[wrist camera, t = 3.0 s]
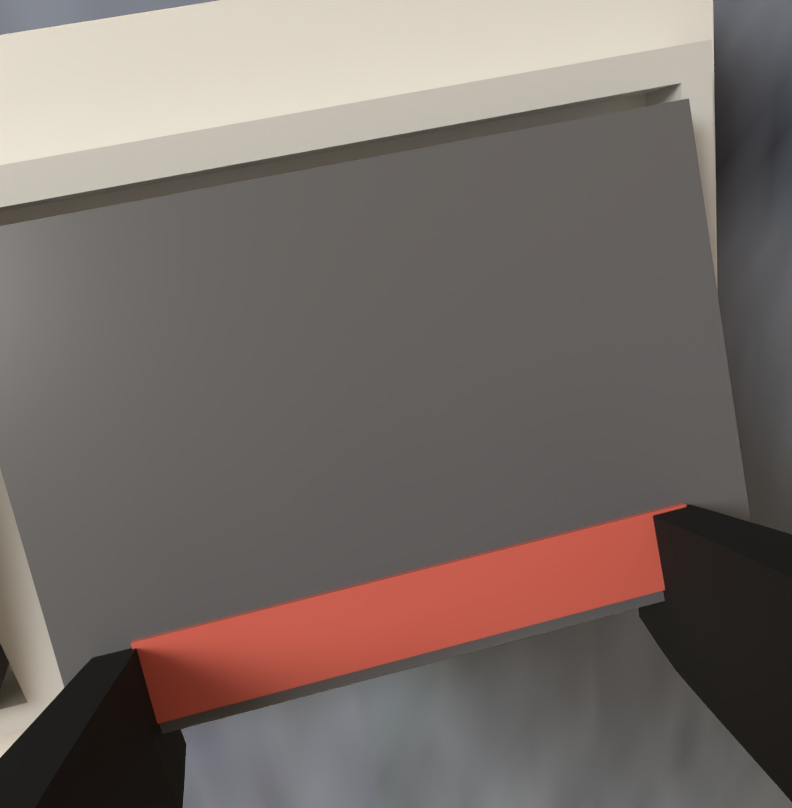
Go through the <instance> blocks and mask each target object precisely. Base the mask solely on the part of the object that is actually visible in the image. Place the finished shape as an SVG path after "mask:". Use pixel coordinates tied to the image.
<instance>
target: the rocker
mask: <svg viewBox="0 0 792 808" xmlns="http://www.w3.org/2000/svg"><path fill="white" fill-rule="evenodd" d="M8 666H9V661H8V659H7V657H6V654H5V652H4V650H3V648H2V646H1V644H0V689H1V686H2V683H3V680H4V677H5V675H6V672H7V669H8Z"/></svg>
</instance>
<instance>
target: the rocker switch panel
mask: <svg viewBox="0 0 792 808" xmlns="http://www.w3.org/2000/svg"><path fill="white" fill-rule="evenodd" d="M688 98H689V102H690V109H691V116H692V123H693V129H694V136H695V143H696V150H697V157H698V163H699V170H700V177H701V184H702V191H703V198H704V204H705V211H706V218H707V225H708V232H709V238H710V245H711V252H712V259H713V266H714V272H715V279H716V286H717V227H716V163H715V99H714V35H713V0H220V1H213V2H207V3H201V4H194V5H188V6H182V7H175V8H169V9H163V10H156V11H150V12H144V13H137V14H131V15H125V16H118V17H112V18H106V19H99V20H93V21H87V22H80V23H74V24H67V25H61V26H55V27H48V28H42V29H36V30H29V31H23V32H17V33H10V34H4V35H0V226H3V225H9V224H14V223H20V222H25V221H30V220H36V219H41V218H47V217H52V216H57V215H63V214H68V213H73V212H79V211H84V210H90V209H95V208H100V207H106V206H111V205H117V204H122V203H127V202H133V201H138V200H144V199H149V198H154V197H160V196H165V195H171V194H176V193H181V192H187V191H192V190H197V189H203V188H208V187H214V186H219V185H224V184H230V183H235V182H241V181H246V180H251V179H257V178H262V177H268V176H273V175H278V174H284V173H289V172H295V171H300V170H305V169H311V168H316V167H322V166H327V165H332V164H338V163H343V162H348V161H354V160H359V159H365V158H370V157H375V156H381V155H386V154H392V153H397V152H402V151H408V150H413V149H419V148H424V147H429V146H435V145H440V144H446V143H451V142H456V141H462V140H467V139H472V138H478V137H483V136H489V135H494V134H499V133H505V132H510V131H516V130H521V129H526V128H532V127H537V126H543V125H548V124H553V123H559V122H564V121H570V120H575V119H580V118H586V117H591V116H597V115H602V114H607V113H613V112H618V111H623V110H629V109H634V108H640V107H645V106H650V105H656V104H661V103H667V102H672V101H677V100H683V99H688ZM717 293H718V291H717ZM624 612H625V611H624ZM609 616H610V615H609ZM590 621H591V620H590ZM575 625H576V624H575ZM560 629H561V628H560ZM545 633H546V632H545ZM541 634H542V633H541ZM526 638H527V637H526ZM511 642H512V641H511ZM0 644H1V646H2V648H3V650H4V652H5V654H6V657H7V659H8V661H9V666H8V669H7V672H6V675H5V677H4V680H3V683H2V686H1V689H0V757H1V756H2V755H3V754H4V753H5V752H6V751H7V750H8V749H9V748H10V747H11V745H12V744H13V743H14V742H15V741H16V740H17V739H18V738H19V737H20V736H21V735H22V734H23V732H24V731H25V730H26V729H27V728H28V727H29V726H30V725H31V724H32V723H33V722H34V720H35V719H36V718H37V717H38V716H39V715H40V714H41V713H42V712H43V711H44V710H45V708H46V707H47V706H48V705H49V704H50V703H51V702H52V701H53V700H54V699H55V697H56V696H57V695H58V694H59V693H60V692H61V691H62V690H63V689H64V685H63V682H62V678H61V675H60V671H59V668H58V664H57V661H56V658H55V654H54V651H53V647H52V644H51V640H50V637H49V633H48V630H47V627H46V623H45V620H44V616H43V613H42V609H41V606H40V603H39V599H38V596H37V592H36V589H35V585H34V582H33V579H32V575H31V572H30V568H29V565H28V561H27V558H26V555H25V551H24V548H23V544H22V541H21V537H20V534H19V531H18V527H17V524H16V520H15V517H14V513H13V510H12V507H11V503H10V500H9V496H8V493H7V489H6V486H5V483H4V479H3V476H2V472H1V469H0ZM496 646H497V645H496ZM477 651H478V650H477ZM462 655H463V654H462ZM447 659H448V658H447ZM432 663H433V662H432ZM428 664H429V663H428ZM413 668H414V667H413ZM398 672H399V671H398ZM383 676H384V675H383ZM379 677H380V676H379ZM364 681H365V680H364ZM349 685H350V684H349ZM334 689H335V688H334ZM330 690H331V689H330ZM315 694H316V693H315ZM300 698H301V697H300ZM285 702H286V701H285ZM270 706H271V705H270ZM266 707H267V706H266ZM251 711H252V710H251ZM236 715H237V714H236ZM221 719H222V718H221ZM217 720H218V719H217ZM202 724H203V723H202ZM187 728H188V727H187Z"/></svg>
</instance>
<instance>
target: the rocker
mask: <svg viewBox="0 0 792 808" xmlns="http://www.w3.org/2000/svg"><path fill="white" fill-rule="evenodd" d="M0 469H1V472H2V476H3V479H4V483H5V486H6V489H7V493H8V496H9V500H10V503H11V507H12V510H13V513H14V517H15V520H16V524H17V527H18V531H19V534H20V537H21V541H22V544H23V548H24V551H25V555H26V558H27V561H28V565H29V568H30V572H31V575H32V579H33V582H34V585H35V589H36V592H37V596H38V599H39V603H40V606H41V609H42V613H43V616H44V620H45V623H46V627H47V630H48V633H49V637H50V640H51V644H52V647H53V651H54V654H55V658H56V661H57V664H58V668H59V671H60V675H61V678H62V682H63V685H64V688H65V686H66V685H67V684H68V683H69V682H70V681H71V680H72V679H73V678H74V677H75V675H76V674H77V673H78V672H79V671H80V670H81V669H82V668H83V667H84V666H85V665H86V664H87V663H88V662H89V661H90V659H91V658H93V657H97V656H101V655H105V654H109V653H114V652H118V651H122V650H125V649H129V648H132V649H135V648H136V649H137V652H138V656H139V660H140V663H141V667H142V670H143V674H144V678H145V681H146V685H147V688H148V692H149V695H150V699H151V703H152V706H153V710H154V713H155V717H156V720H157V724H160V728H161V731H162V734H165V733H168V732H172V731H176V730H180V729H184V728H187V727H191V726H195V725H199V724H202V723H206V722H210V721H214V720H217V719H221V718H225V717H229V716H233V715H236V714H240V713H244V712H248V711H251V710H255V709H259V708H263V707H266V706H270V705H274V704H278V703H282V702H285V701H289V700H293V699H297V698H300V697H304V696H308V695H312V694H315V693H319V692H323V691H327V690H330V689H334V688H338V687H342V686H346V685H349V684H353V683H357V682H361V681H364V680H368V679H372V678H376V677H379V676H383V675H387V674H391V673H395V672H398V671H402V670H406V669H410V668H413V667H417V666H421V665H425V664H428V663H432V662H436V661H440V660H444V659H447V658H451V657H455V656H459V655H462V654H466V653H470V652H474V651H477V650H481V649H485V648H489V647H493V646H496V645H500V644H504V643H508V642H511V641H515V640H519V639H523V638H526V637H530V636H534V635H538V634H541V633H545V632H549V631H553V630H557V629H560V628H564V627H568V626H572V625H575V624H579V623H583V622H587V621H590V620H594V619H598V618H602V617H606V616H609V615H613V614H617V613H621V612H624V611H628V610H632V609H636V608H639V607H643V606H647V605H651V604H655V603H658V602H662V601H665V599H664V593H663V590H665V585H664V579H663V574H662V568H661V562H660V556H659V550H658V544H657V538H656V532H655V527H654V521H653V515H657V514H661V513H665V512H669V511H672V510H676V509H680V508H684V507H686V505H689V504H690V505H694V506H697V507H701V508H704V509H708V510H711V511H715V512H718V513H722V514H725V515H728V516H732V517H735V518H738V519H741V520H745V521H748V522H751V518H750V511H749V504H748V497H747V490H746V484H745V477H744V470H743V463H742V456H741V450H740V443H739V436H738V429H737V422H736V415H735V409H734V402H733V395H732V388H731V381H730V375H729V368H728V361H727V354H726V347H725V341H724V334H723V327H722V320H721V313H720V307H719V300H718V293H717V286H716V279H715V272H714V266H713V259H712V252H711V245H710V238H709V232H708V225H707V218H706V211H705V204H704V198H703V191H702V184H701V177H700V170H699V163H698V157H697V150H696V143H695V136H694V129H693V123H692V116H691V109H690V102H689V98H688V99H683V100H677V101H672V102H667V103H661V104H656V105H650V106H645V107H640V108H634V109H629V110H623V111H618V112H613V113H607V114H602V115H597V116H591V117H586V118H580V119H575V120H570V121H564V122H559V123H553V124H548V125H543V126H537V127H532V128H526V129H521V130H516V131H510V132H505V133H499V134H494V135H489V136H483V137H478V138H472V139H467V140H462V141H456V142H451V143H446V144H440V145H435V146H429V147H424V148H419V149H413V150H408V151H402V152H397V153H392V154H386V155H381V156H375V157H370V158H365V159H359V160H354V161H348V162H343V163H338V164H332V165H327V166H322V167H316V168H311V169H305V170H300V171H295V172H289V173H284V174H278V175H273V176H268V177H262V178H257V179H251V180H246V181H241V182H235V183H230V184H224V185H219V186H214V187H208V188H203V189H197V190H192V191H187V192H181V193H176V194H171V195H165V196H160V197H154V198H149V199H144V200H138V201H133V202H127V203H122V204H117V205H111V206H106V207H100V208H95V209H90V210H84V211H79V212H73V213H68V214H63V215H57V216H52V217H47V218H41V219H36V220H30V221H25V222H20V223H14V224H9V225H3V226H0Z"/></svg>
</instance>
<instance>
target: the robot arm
mask: <svg viewBox="0 0 792 808" xmlns="http://www.w3.org/2000/svg"><path fill="white" fill-rule="evenodd" d="M653 521H654V527H655V532H656V538H657V544H658V550H659V556H660V562H661V568H662V574H663V579H664V585H665V590H663V593H664V599H665V601H662V602H658V603H655V604H651V605H647V606H643V607H639V616H640V618H641V619H642V621H643V622H644V624H645V626H646V627H647V629H648V630H649V632H650V633H651V635H652V636H653V638H654V639H655V641H656V642H657V644H658V645H659V647H660V648H661V650H662V651H663V653H664V654H665V655H666V657H667V658H668V660H669V661H670V663H671V664H672V665H673V667H674V668H675V670H676V671H677V672H678V673H679V674H680V676H681V677H682V678H683V679H684V680H685V681H686V683H687V684H688V685H689V686H690V687H691V688H692V690H693V691H694V692H695V693H696V694H697V695H698V696H699V698H700V699H701V700H702V701H703V702H704V703H705V704H706V706H707V707H708V708H709V709H710V710H711V711H712V712H713V714H714V715H715V716H716V717H717V718H718V719H719V720H720V721H721V723H722V724H723V725H724V726H725V727H726V728H727V729H728V730H729V732H730V733H731V734H732V735H733V736H734V737H735V738H736V739H737V741H738V742H739V743H740V744H741V745H742V746H743V747H744V748H745V750H746V751H747V752H748V753H749V754H750V755H751V756H752V757H753V759H754V760H755V761H756V762H757V763H758V764H759V765H760V766H761V768H762V769H763V770H764V771H765V772H766V773H767V774H768V775H769V777H770V778H771V779H772V780H773V781H774V782H775V783H776V784H777V786H778V787H779V788H780V789H781V790H782V791H783V792H784V793H785V795H786V796H787V797H788V798H789V799H790V800H791V802H792V535H791V534H788V533H785V532H781V531H778V530H774V529H771V528H768V527H765V526H761V525H758V524H755V523H751V522H748V521H745V520H741V519H738V518H735V517H732V516H728V515H725V514H722V513H718V512H715V511H711V510H708V509H704V508H701V507H697V506H694V505H690V504H689V505H686V507H684V508H680V509H676V510H672V511H669V512H665V513H661V514H657V515H653ZM185 755H186V743H185V740H184V737H183V734H182V732H181V729H180V730H176V731H172V732H168V733H165V734H162V731H161V728H160V724H157V720H156V717H155V713H154V710H153V706H152V703H151V699H150V695H149V692H148V688H147V685H146V681H145V678H144V674H143V670H142V667H141V663H140V660H139V656H138V652H137V649H136V648H135V649H132V648H129V649H125V650H122V651H118V652H114V653H109V654H105V655H101V656H97V657H93V658H91V659H90V661H89V662H88V663H87V664H86V665H85V666H84V667H83V668H82V669H81V670H80V671H79V672H78V673H77V674H76V675H75V677H74V678H73V679H72V680H71V681H70V682H69V683H68V684H67V685H66V686H65V688H64V689H63V690H62V691H61V692H60V693H59V694H58V695H57V696H56V697H55V699H54V700H53V701H52V702H51V703H50V704H49V705H48V706H47V707H46V708H45V710H44V711H43V712H42V713H41V714H40V715H39V716H38V717H37V718H36V719H35V720H34V722H33V723H32V724H31V725H30V726H29V727H28V728H27V729H26V730H25V731H24V732H23V734H22V735H21V736H20V737H19V738H18V739H17V740H16V741H15V742H14V743H13V744H12V745H11V747H10V748H9V749H8V750H7V751H6V752H5V753H4V754H3V755H2V756H1V757H0V808H182V807H183V793H184V777H185Z"/></svg>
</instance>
